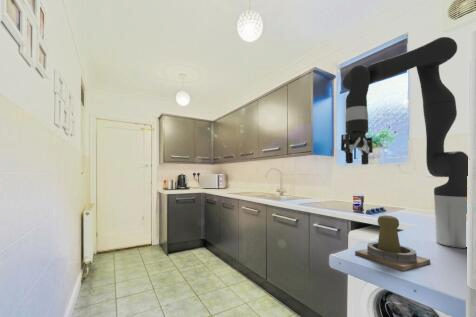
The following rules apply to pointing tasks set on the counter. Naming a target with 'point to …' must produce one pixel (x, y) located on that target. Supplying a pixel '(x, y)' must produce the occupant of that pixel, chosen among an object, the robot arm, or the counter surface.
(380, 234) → the brown tapered knobbed cylinder
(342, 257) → the counter surface
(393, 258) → the spice stand
